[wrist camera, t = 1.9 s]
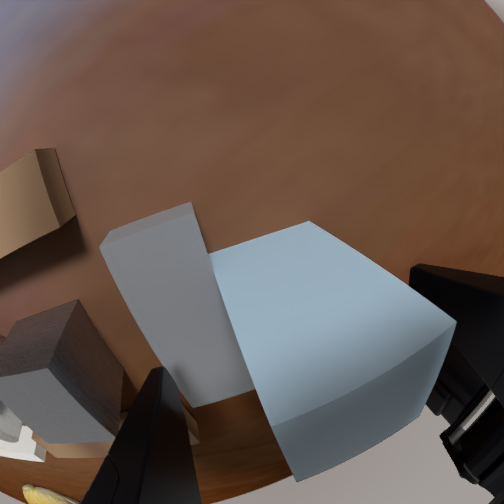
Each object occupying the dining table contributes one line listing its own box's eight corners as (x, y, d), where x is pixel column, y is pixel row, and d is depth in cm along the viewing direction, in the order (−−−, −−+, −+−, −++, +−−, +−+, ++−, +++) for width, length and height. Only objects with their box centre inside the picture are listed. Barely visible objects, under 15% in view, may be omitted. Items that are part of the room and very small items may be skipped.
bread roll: (95, 508, 18) (97, 530, 15) (48, 499, 16) (48, 519, 13) (62, 489, 15) (61, 515, 12) (13, 476, 13) (11, 499, 10)
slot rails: (54, 147, 7) (34, 149, 5) (196, 422, 13) (200, 443, 12) (-78, 252, 5) (-93, 263, 4) (58, 441, 12) (56, 457, 10)
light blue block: (299, 170, 10) (475, 228, 3) (323, 334, 13) (405, 440, 7) (110, 230, 8) (24, 391, 2) (189, 382, 12) (216, 517, 6)
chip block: (79, 297, 9) (47, 367, 5) (124, 367, 11) (118, 439, 7) (17, 320, 8) (-18, 380, 5) (62, 381, 10) (47, 443, 7)
